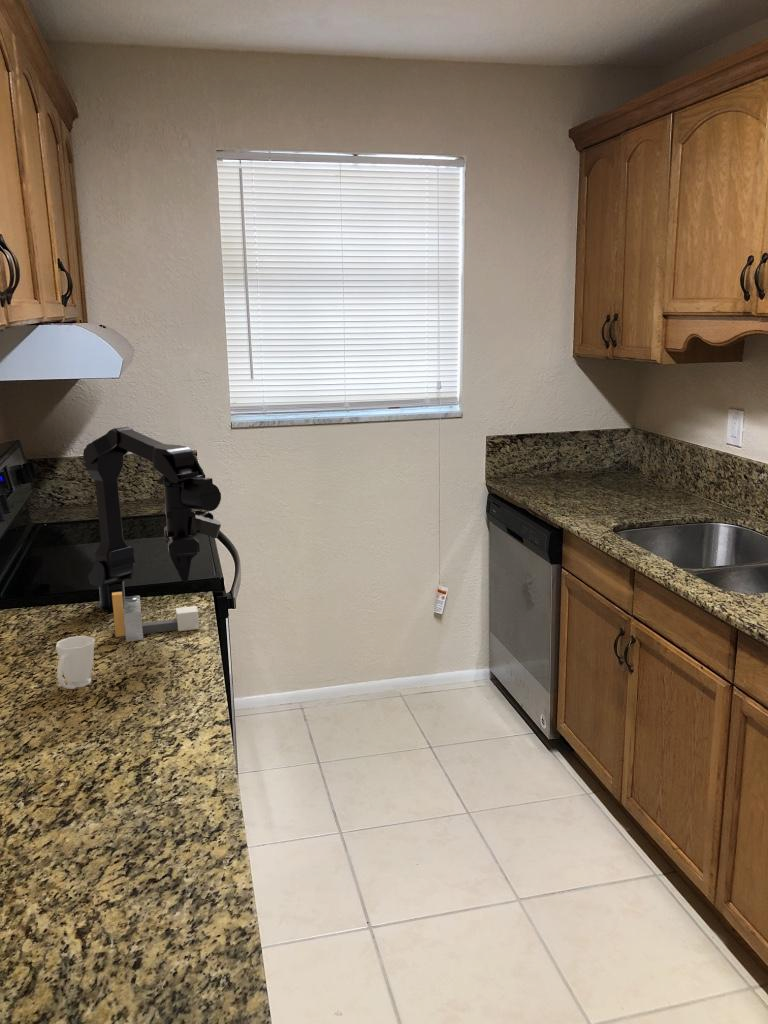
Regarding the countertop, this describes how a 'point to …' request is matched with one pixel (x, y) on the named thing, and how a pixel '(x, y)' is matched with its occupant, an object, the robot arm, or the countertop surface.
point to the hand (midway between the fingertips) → (183, 576)
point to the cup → (75, 661)
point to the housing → (133, 618)
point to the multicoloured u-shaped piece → (184, 621)
